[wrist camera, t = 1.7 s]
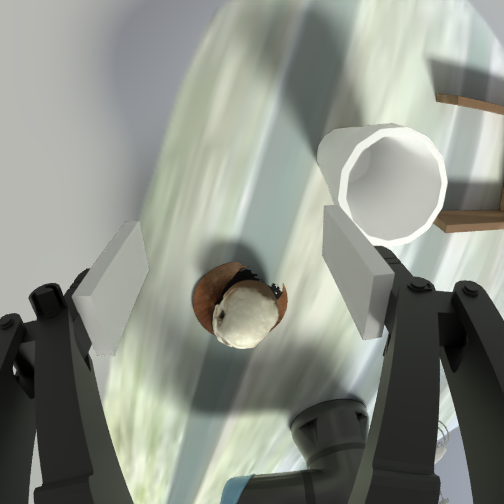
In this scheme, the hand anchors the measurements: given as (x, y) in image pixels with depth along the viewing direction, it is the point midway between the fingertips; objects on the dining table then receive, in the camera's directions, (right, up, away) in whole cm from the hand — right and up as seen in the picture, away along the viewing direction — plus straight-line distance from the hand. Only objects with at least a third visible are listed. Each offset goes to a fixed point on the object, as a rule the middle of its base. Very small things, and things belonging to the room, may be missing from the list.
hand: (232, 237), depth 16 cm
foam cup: (+11, +10, +18) cm, 23 cm away
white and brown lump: (-1, -7, +26) cm, 27 cm away
